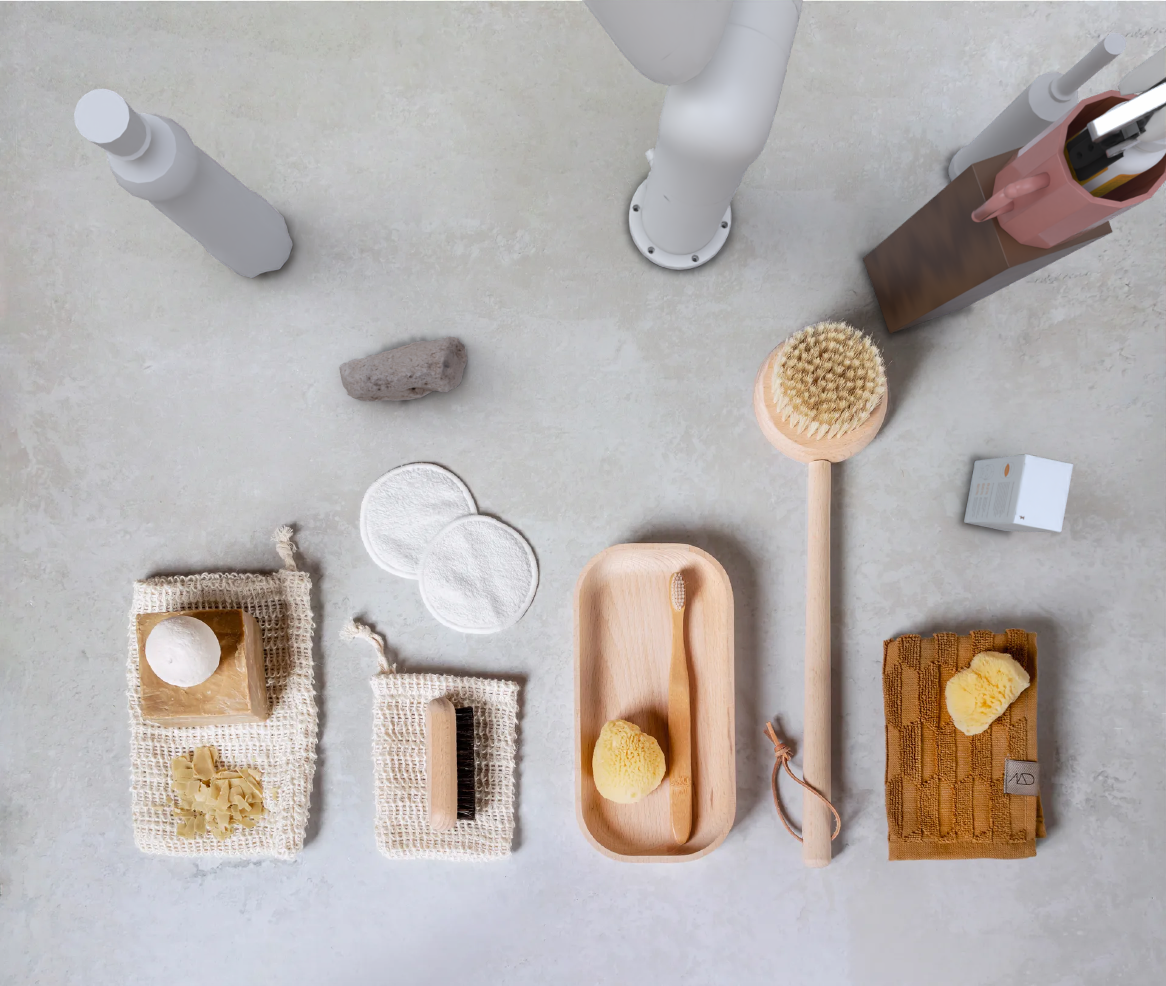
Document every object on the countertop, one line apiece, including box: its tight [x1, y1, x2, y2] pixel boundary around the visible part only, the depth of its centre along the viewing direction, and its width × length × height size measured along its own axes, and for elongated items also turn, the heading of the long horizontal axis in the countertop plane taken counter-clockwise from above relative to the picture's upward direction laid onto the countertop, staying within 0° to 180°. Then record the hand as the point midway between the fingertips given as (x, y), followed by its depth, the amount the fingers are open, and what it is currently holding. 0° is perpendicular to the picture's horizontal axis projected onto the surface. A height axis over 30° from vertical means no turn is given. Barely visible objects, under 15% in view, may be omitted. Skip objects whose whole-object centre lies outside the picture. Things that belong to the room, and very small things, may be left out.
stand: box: [862, 146, 1113, 334], centre depth 78 cm, size 10×10×25 cm
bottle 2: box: [947, 32, 1127, 182], centre depth 78 cm, size 5×5×25 cm
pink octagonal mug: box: [971, 89, 1166, 249], centre depth 61 cm, size 9×12×9 cm
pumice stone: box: [339, 336, 468, 402], centre depth 85 cm, size 15×8×10 cm, turn 95°
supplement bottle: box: [1063, 101, 1166, 198], centre depth 56 cm, size 5×5×10 cm
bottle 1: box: [73, 88, 294, 279], centre depth 75 cm, size 9×9×30 cm
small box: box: [963, 453, 1075, 534], centre depth 85 cm, size 8×6×10 cm
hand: (1113, 148), depth 56 cm, fingers closed on supplement bottle, 5 cm apart
